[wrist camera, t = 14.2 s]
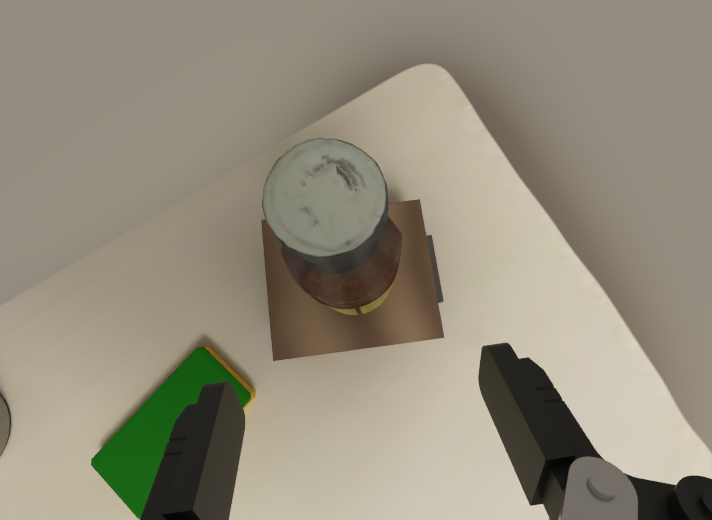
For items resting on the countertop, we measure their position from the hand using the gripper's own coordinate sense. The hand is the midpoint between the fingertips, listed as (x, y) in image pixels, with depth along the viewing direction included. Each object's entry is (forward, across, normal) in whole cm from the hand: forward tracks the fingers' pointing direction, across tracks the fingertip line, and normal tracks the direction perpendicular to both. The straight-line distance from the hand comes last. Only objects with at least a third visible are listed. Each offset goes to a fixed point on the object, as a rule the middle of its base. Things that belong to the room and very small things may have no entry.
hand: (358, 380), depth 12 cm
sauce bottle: (+17, 0, +9) cm, 19 cm away
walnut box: (+22, 0, +14) cm, 26 cm away
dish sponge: (+15, +18, +22) cm, 32 cm away
